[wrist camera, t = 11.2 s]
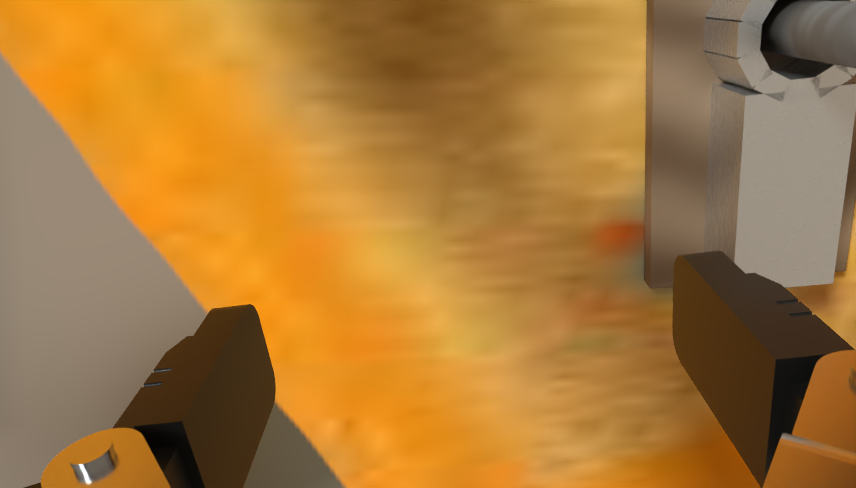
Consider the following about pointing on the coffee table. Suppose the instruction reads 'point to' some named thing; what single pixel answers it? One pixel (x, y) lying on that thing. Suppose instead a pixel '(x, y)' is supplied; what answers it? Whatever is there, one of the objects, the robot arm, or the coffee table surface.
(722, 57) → the hinge leaf
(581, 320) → the coffee table surface
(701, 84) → the hinge base
